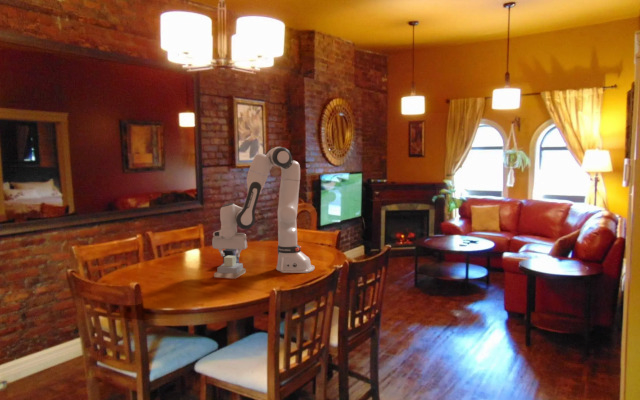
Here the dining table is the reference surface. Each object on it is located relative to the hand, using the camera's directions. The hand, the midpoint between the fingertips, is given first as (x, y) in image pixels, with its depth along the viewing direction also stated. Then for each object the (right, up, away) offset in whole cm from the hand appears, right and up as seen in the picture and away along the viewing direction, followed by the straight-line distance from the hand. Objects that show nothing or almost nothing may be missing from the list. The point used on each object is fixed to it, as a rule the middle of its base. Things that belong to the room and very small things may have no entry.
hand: (230, 256), depth 258 cm
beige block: (0, -5, +1) cm, 5 cm away
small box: (-4, -8, +22) cm, 23 cm away
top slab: (0, -8, +1) cm, 8 cm away
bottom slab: (0, -11, +1) cm, 11 cm away
